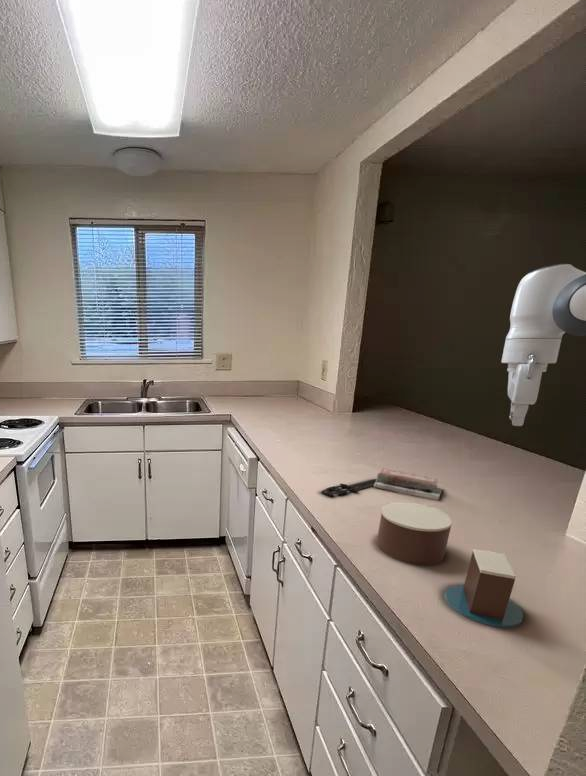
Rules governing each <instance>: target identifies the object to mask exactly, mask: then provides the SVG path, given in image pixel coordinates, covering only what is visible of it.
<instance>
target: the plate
mask: <svg viewBox="0 0 586 776" xmlns="http://www.w3.org/2000/svg"><path fill="white" fill-rule="evenodd" d="M463 588H464V584H457V585H453V586H450V587H449V588H448V589H446V591H445V594H444V597H445V601H446V603H447V605H449V606H450V607H451V608H452V609H453V610H454V611H456V612H457V613H458V614H460V615H461V616H463V617H465V618H467V619H469V620H471V621H474V622H477V623H479V624H483V625H486V626H490V627H496V628H512V627H515V626H518V625H520V624H521V623H522V621H523V619H524V614H523V611H522V609H521V608H520V607H519V606H518V605H517V604H516V603H515V602H514V601H512V600H511V599H510V598H509V602H508V605H507V608H506V612H505V615H504V618H503V620H501V619H496V618H491V617H487V616H482V615H478V614H473V613H470V611H469V608H468V604H467V601H466V597H465V593H464V590H463Z"/></svg>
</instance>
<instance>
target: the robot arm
mask: <svg viewBox="0 0 586 776" xmlns="http://www.w3.org/2000/svg"><path fill="white" fill-rule="evenodd" d="M509 314H510V316H509V322H510V325H509V326H510V327H509V330H508V333H507V334H506V336H505V340H504V345H503V351H502V352H503V353H502V357H501V361H500V362H501V364H507V369H506V371H507V372H508V380H507V381H508V382H507V397H508V398H509V399H510V412H509V420H510V421H511V425H512V426H513V427H522V426H524V423H525V418H526V415H527V413H528V411H529V405H535V404H536V403H537V399H538V396H539V392H540V386H541V380H542V375H543V373H546V372H547V368H548V364H556V363H557V361H558V357H559V352H560V347H561V343H562V338H563V335H564V334H565V333H566V334H568V335H572V336H576V337H577V336H578V337H583V336H584V337H586V271H584V270H581V269H579V268H577V267H575V266H573V264H570V263H558V264H550V265H546V266H543V267H540V268H539V267H538V268H537V269H535V270H532V271H530V272H527V274H526V275H525V276H523V277H522V278H521V280H520V281H519V283H518V285H517V288H516V290H515V294H514V296H513V301H512V305H511V309H510V313H509Z"/></svg>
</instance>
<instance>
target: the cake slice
mask: <svg viewBox="0 0 586 776" xmlns="http://www.w3.org/2000/svg"><path fill="white" fill-rule="evenodd" d="M468 564H469V565H468V568H467V573H466V575H465V581H464V583H463V585H464V588H463V590H464V593H465V597H466V601H467V604H468V608H469V611H470V613H473V614H478V615H482V616H487V617H491V618H496V619H501V620H503V618H504V615H505V612H506V608H507V605H508V602H509V599H510V598H511V595H512V591H513V588H514V585H515V581H516V578H517V575H516V573H515V571H514V569H513V567H512V565H511V562H510V561H509V558H508V556H507V555H506V553H504V552H503V553H502V552H498V551H497V552H496V551H490V550H484V549H478V548H473V549H472V553H471V557H470V560H469V563H468Z"/></svg>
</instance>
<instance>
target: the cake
mask: <svg viewBox="0 0 586 776" xmlns="http://www.w3.org/2000/svg"><path fill="white" fill-rule="evenodd" d="M452 524H453V519H452V518H451V517H450V515H449V514H447V513H446V512H444V511H442V510H440V509H438V508H435V507H432V506H429V505H426V504H421V503H417V502H408V501H407V502H405V501H400V502H399V501H397V502H391V503H387V504H385V505H383V506H382V508H381V514H380V519H379V526H378V531H377V539H376V546H377V548H378V549H379V550H380V551H381V552H382V553H383V554H385V555H386V556H388V557H391V558H392V559H394V560H397V561H401V562H404V563H408V564H412V565H413V564H415V565H422V566H423V565H425V566H426V565H434V564H437V563H438V564H439V563H441V562H442V561H443V560H444V558H445V554H446V551H447V546H448V541H449V536H450V532H451V529H452Z"/></svg>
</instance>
